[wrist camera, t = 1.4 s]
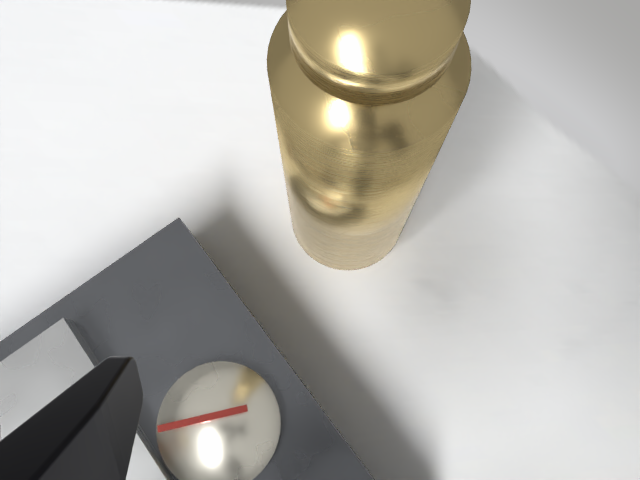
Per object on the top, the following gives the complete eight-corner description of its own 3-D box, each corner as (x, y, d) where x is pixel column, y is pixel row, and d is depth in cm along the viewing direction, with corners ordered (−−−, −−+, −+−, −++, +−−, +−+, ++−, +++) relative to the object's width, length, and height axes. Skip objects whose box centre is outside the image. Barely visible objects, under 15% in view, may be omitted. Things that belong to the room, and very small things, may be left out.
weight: (425, 225, 24) (551, 10, 11) (338, 292, 23) (360, 147, 10) (355, 145, 25) (392, -136, 12) (269, 207, 24) (209, -25, 11)
